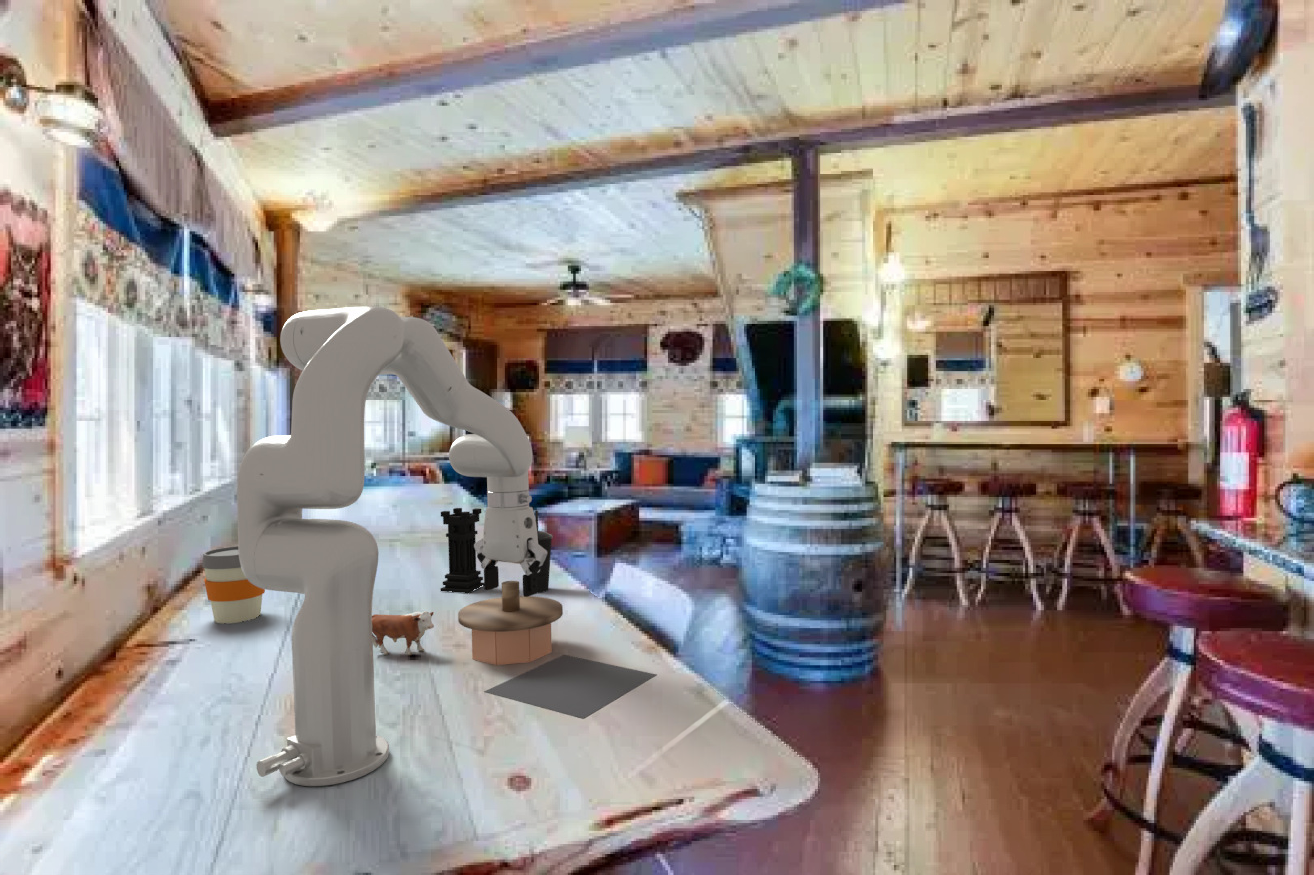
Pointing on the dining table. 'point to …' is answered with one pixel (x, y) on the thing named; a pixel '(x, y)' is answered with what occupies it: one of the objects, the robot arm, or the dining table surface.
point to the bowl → (511, 645)
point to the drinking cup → (543, 575)
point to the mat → (571, 685)
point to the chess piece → (461, 551)
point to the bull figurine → (401, 629)
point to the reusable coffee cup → (230, 587)
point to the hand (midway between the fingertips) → (510, 591)
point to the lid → (510, 611)
